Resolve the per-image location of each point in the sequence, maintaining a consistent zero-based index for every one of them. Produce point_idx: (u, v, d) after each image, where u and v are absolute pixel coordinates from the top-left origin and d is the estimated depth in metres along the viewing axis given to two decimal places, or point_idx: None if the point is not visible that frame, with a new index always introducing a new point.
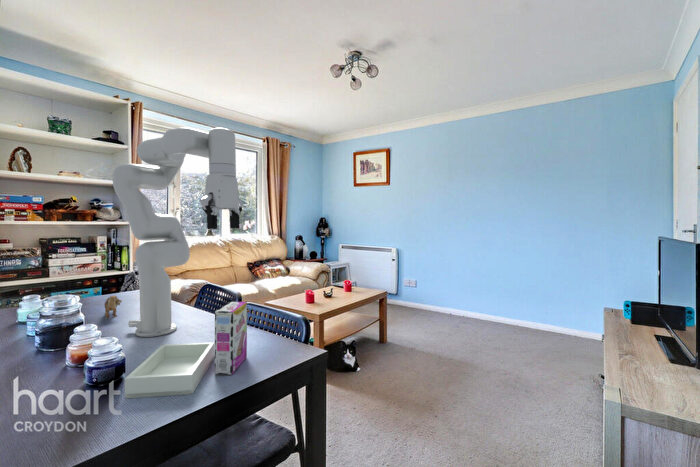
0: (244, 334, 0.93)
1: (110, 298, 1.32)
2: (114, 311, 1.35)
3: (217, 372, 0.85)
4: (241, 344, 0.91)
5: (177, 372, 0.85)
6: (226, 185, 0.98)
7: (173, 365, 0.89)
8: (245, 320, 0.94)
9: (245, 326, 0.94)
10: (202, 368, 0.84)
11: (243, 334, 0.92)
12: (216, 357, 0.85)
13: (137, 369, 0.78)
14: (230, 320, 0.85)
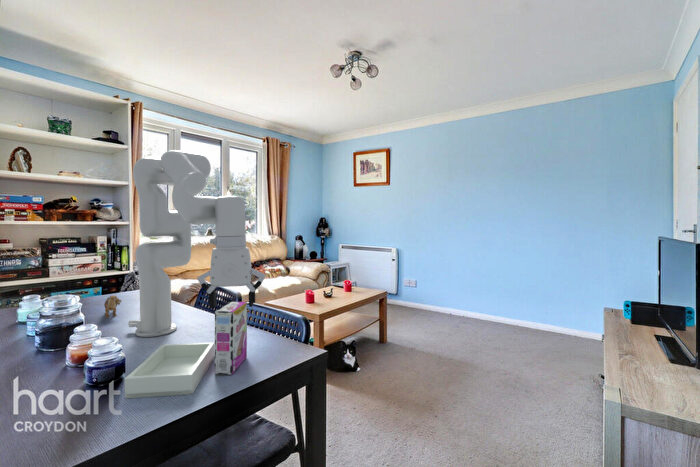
0: (244, 334, 0.93)
1: (110, 298, 1.32)
2: (114, 311, 1.36)
3: (217, 372, 0.85)
4: (241, 344, 0.91)
5: (177, 372, 0.85)
6: None
7: (173, 365, 0.89)
8: (245, 320, 0.94)
9: (244, 326, 0.94)
10: (202, 368, 0.84)
11: (243, 334, 0.92)
12: (216, 357, 0.85)
13: (137, 369, 0.78)
14: (230, 320, 0.85)
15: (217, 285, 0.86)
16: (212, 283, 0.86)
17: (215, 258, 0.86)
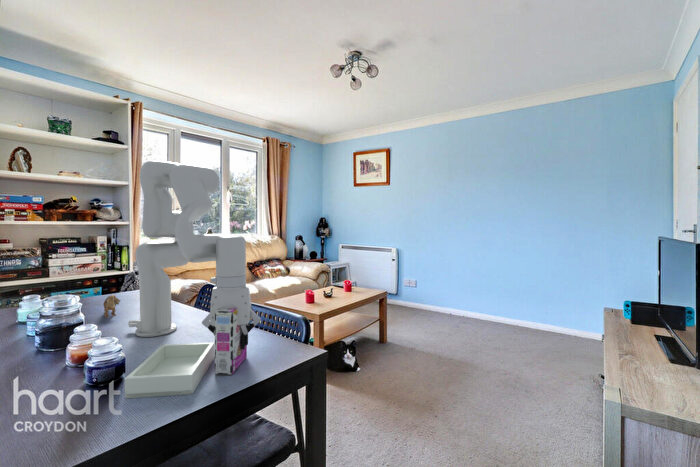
0: None
1: (109, 297, 1.33)
2: (113, 310, 1.36)
3: (217, 372, 0.85)
4: None
5: (177, 372, 0.85)
6: None
7: (173, 365, 0.89)
8: None
9: None
10: (202, 368, 0.84)
11: None
12: (216, 357, 0.85)
13: (137, 369, 0.78)
14: (230, 320, 0.85)
15: None
16: (212, 323, 0.87)
17: (215, 298, 0.87)
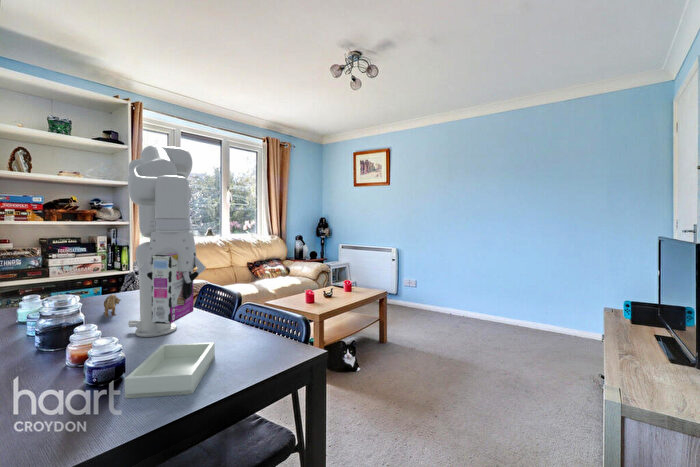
0: None
1: (109, 297, 1.33)
2: (113, 310, 1.37)
3: (154, 321, 0.79)
4: None
5: (177, 372, 0.85)
6: None
7: (173, 365, 0.89)
8: None
9: None
10: (202, 368, 0.84)
11: None
12: (153, 304, 0.79)
13: (137, 369, 0.78)
14: (167, 264, 0.78)
15: None
16: (150, 269, 0.81)
17: (153, 242, 0.80)
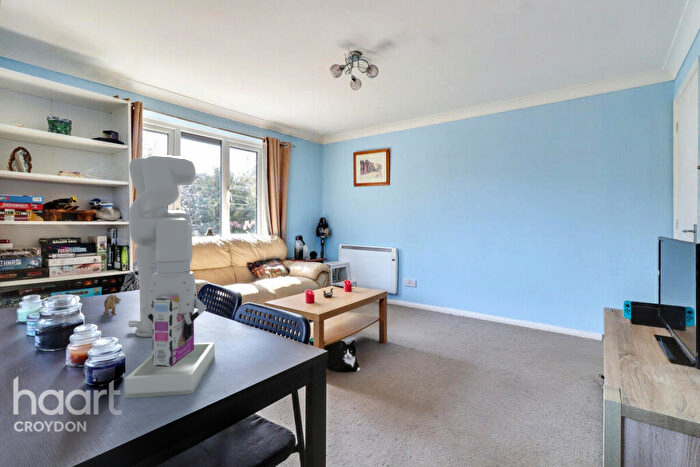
0: None
1: (110, 297, 1.34)
2: (113, 310, 1.37)
3: (155, 364, 0.79)
4: None
5: (177, 372, 0.85)
6: None
7: (173, 365, 0.89)
8: None
9: None
10: (202, 368, 0.84)
11: None
12: (154, 348, 0.79)
13: (137, 369, 0.78)
14: (168, 307, 0.79)
15: None
16: (151, 311, 0.81)
17: (154, 284, 0.81)
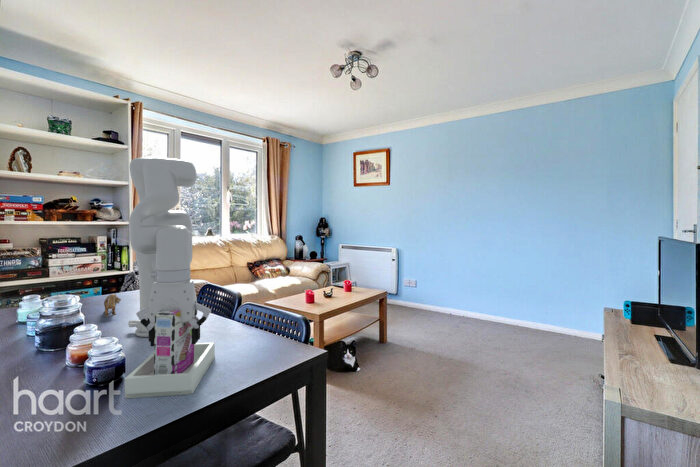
0: (190, 337, 0.88)
1: (110, 296, 1.34)
2: (113, 309, 1.38)
3: None
4: (186, 348, 0.85)
5: None
6: None
7: None
8: None
9: (191, 329, 0.88)
10: (202, 368, 0.84)
11: (189, 337, 0.87)
12: (155, 362, 0.79)
13: (137, 369, 0.78)
14: (171, 322, 0.79)
15: None
16: (151, 320, 0.81)
17: (154, 293, 0.81)
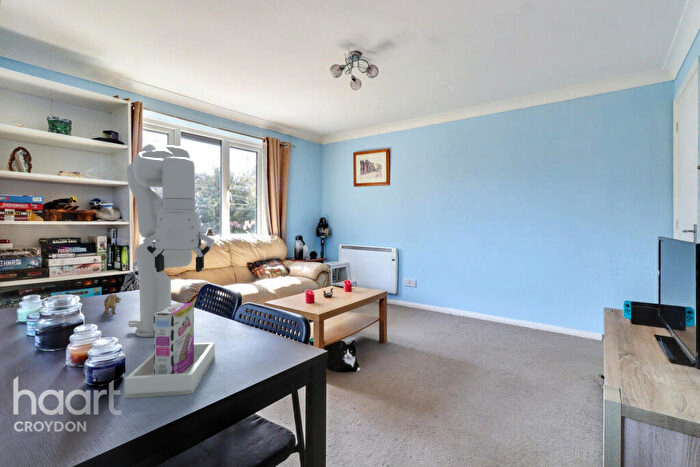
0: (190, 337, 0.88)
1: (110, 296, 1.35)
2: (113, 309, 1.38)
3: None
4: (186, 348, 0.85)
5: None
6: None
7: None
8: (191, 322, 0.89)
9: (190, 329, 0.88)
10: (202, 368, 0.84)
11: (188, 337, 0.87)
12: (155, 362, 0.79)
13: (137, 369, 0.78)
14: (170, 322, 0.79)
15: (162, 248, 0.85)
16: (157, 246, 0.85)
17: (160, 220, 0.84)
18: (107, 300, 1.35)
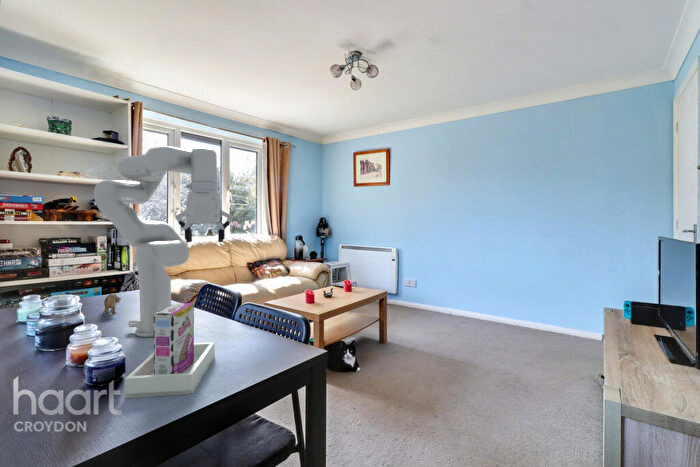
0: (190, 337, 0.88)
1: (110, 296, 1.35)
2: (113, 309, 1.39)
3: None
4: (186, 348, 0.85)
5: None
6: None
7: None
8: (191, 322, 0.89)
9: (191, 329, 0.88)
10: (202, 368, 0.84)
11: (188, 337, 0.87)
12: (155, 362, 0.79)
13: (137, 369, 0.78)
14: (170, 322, 0.79)
15: (191, 222, 1.04)
16: (187, 220, 1.04)
17: (190, 199, 1.04)
18: (107, 300, 1.35)
